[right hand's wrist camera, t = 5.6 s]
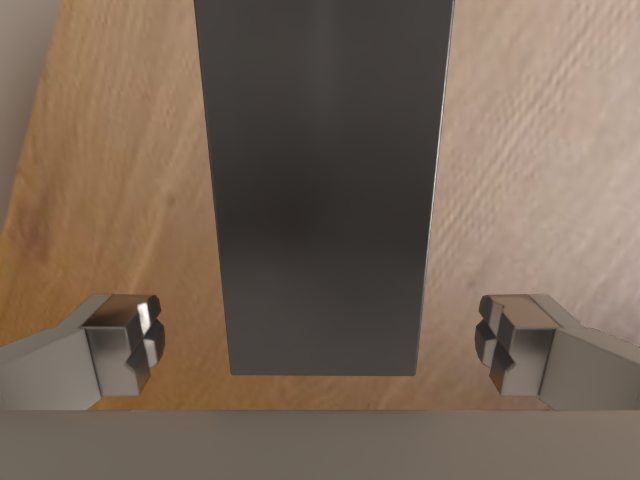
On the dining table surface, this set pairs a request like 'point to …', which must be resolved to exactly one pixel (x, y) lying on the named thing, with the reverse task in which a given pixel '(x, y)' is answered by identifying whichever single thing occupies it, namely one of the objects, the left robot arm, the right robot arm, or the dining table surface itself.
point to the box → (323, 176)
